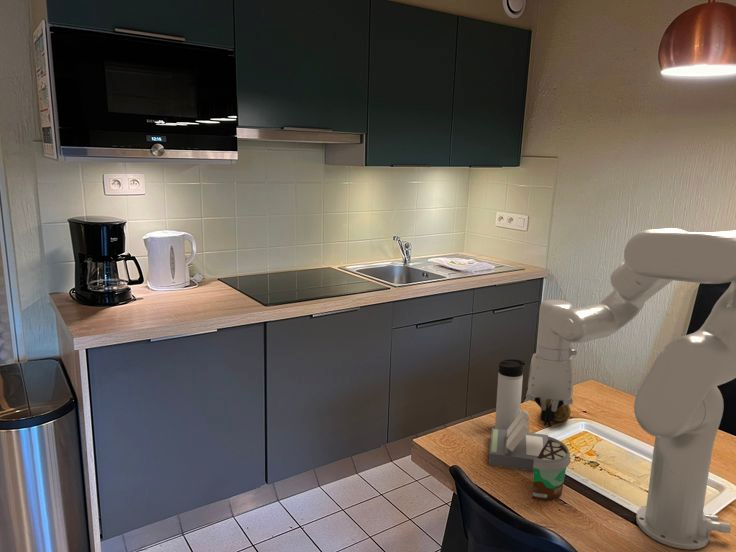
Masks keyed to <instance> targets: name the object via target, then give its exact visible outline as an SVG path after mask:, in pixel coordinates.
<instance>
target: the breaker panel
mask: <svg viewBox="0 0 736 552" xmlns="http://www.w3.org/2000/svg"><path fill="white" fill-rule="evenodd" d="M506 433H507V430H505V429H497V428H495V427H491V433H490V435H491V436H490V444H489V457H488V466H494V467H500V468H507V469H514V470H521V471H528V472H534V468H533V464H534V458H537V457H538V456H539V454H540V452H541V450H542V448H543V447H544V446H545V445H546V443H547V441H548V436H549V434H543V433H535V432H529V431H528V432H527V434H526V435H525V436H524V437H523V439H522V440H521V441H520V442H519V444H518V445H517V446H516V447H515V449H514V450H513V451H511V450H509V454H508V455H506V454H505V444H506V442H505V441H506Z"/></svg>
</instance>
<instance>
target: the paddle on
mask: <svg viewBox="0 0 736 552" xmlns="http://www.w3.org/2000/svg"><path fill="white" fill-rule="evenodd" d="M523 419H525V420H526V421H528V422H529V420H530V412H528V411H527V410H525V408H524V409H521V410H520V414H519V415H518V416H517V418H516V419H515V420H514V422H513V423H512V424H511V426H510V427H509V428H508V429H507V433H506V441H505V442H506V443H507V439H508V438H509V437H510V435H511V434H512V433H513V431H514V430H515V429H516V428H517V426H518V425H519V424H520V422H521V421H522V420H523Z"/></svg>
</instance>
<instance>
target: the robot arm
mask: <svg viewBox="0 0 736 552" xmlns="http://www.w3.org/2000/svg"><path fill="white" fill-rule="evenodd" d="M623 257H624V258H623V259H624V261H623V262H622V263H620V265H619V266H618V267H616V268H615V269H614V271H612V272H611V275H610V283H611V287H612V288H613V291H611V293H609V295H607V296H606V297H605V298H604V299H602V300H601V301H600V302H598V303H596V304H592V305H586V306H582V307H575V308H574V305H573V304H572V303H570V302H569V301H568V300H567V301H566V300H564V299H563V300H561V299H546V300H543V301H542V302H541V303H540V306H539V315H538V326H537V340H536V352H535V353H533V354H532V357H531V360H530V365H529V371H528V378H527V388H528V389H527V391H526V395H525V398H526V399H527V400H529V401H532V402H535V403H536V405H538V406H539V408H540V409H541V412H540V421H541V422H543V427H549V428H550V427H552V423H555V420H554V416H555V411H556V410H557V409H558V408H559V407H561V406H562V405H569V406H571V405H572V404H573V403H574V402H573V395H574V392H573V391H574V362H573V357H572V356H577V355H578V351H577V349H575V348H573V347H571V346H572V345H571V343H573V344H581V343H586V342H589V341H590V342H591V341H592V340H593V341H594V340H596V339H602V338H607V337H610V336H612V335H613V334H615V333H617V332H619V330H620V329H622V328H623V327H625V326H626V325H627V324H629V323H630V322H631V321H632V320H634V319H635V318H636V317H637V316H638V315H639V313H640V312H641V310H642V309H643V308H644V305H645V303H646V302H647V301H648V300H650V299H651V298H652V297H654V296H655V295H656V294H657V293H658V292H660V291H661V290H662V289H664V287H667V285H669V284H670V283H671V282H673V281H675V282H686V283H694V284H705V285H706V284H707V285H708V284H710V285H713V284H714V285H716V284H725V283H730V282H731V283H730V285H729V287H728V288H727V289H726V290H725V292H724V293H722V295H721V296H720V297H719V299H718V300H717V301H716V302H715V304H714V305H713V307H712V309H711V312H710V314H709V315H708V317H707V318H706V319H705V321H704V323H703V324H702V325H701V327H700V328H699V329H698V330H696V331H695V332H693V333H689V334H687V335H686V334H685V335H682V336H679V337H677V338H675V339H673V340H671V341H669V342H668V343H667V344H666V345H665V346H664V347H663V348H662V350H660V352H659V354H658V355H657V357H656V359H655V361H654V362H653V364H652V365H651V368H650V369H649V371H648V373H647V375H646V376H645V378H644V380H643V382H642V383H641V385H640V387H639V389H638V391H637V394H636V395H635V399H634V403H633V410H634V411H633V412H634V416H635V419H636V421H637V423H638V425H639V426H640V428H641V429H642V430H643V431H644V432H646V433H647V434H649V435H650V436H653V437H655V439H654V444H653V450H652V457H651V467H650V474H649V475H650V476H649V482H648V483H649V484H648V491H647V492H648V493H647V500H646V505H645V506H641V507H640V508H639V509H638V510H637V511H636V519H635V520H636V523H637V525H638V527H639V528H640V529H641V530H642V532H644V533H645V534H646V535H647V536H649V538H651V539H653V540H655V541H657V542H659V543H660V544H664V545H666V546H669V547H672V548H675V549H680V550H699V549H702V548H704V547H706V546H707V545H708V543H709V540H710V533H712V531H714V532H717V533H724V534H731V531H732V529H731V528H732V527H731V524H730V522H727V521H720V520H719V517H718V516H719V515H717V514H716V515H715V514H712V513H711V514H710V513H709V514H708V513H705V512H704V506H705V500H706V495H707V487H708V480H709V474H710V467H711V462H712V456H713V449H714V444H715V440H716V436H717V434H718V429H719V428H720V425H721V422H722V421H721V420H722V419H723V413H724V405H725V404H724V398H723V395H722V393H721V390H720V389H719V388H718V386H721V385H723V384H726V383H728V382H731V381H733V380H735V379H736V229H733V230H724V231H713V232H710V231H709V232H708V231H707V232H704V231H703V232H701V231H699V232H698V231H697V232H696V231H692V232H691V231H687V230H684V229H682V228H676V227H666V228H653V229H652V228H651V229H645V230H641V231H639V232H638V233H636V234H634V235H633V236H631V238H629V240H628V242H627V243H626V245H625V248H624V251H623ZM546 399H552V401H551V405H550V406H549V407H547V404H546Z"/></svg>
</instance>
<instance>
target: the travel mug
mask: <svg viewBox="0 0 736 552" xmlns="http://www.w3.org/2000/svg"><path fill="white" fill-rule="evenodd" d="M525 365H526V362H525V360H520V359H512V358H509V359H504V360H501V361H500V362H499V364H498V371H497V372H498V373H497V375H498V376H497V389H496V407H495V408H496V409H495V419H494V421H495V422H494V423H495V424H494V428H497V429H505V430H507V429H508V428H509V427H510V426H511V424H512V423H513V422H514V420H515V419H516V418H517V416H518V415H519V414H520V413H521V406H522V393H523V379H524V378H523V377H524V376H523V375H524V367H523V366H525Z"/></svg>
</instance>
